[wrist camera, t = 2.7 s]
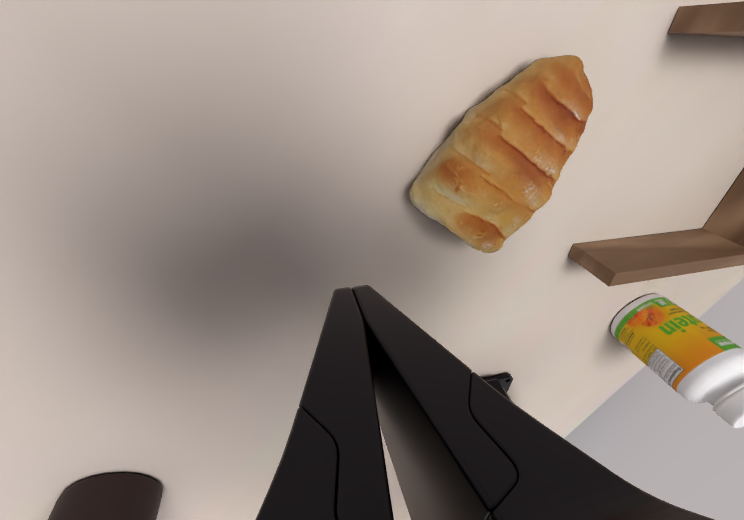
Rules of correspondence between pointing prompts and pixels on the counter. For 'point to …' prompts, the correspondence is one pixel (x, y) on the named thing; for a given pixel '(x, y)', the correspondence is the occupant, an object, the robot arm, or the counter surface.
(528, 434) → the robot arm
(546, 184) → the pastry
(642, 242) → the box
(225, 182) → the counter surface
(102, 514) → the vinegar
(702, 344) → the supplement bottle
